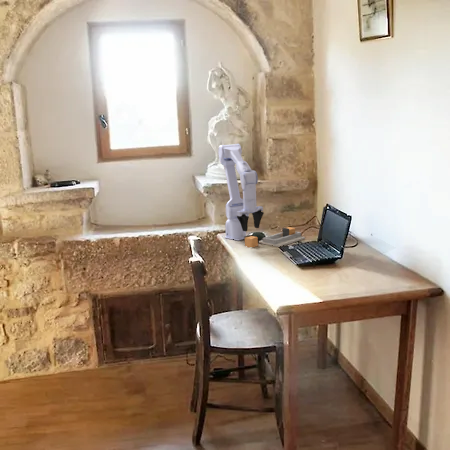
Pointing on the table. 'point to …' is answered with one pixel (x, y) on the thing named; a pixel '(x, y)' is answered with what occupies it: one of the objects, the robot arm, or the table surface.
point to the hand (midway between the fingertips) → (250, 229)
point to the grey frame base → (283, 237)
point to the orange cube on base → (250, 241)
